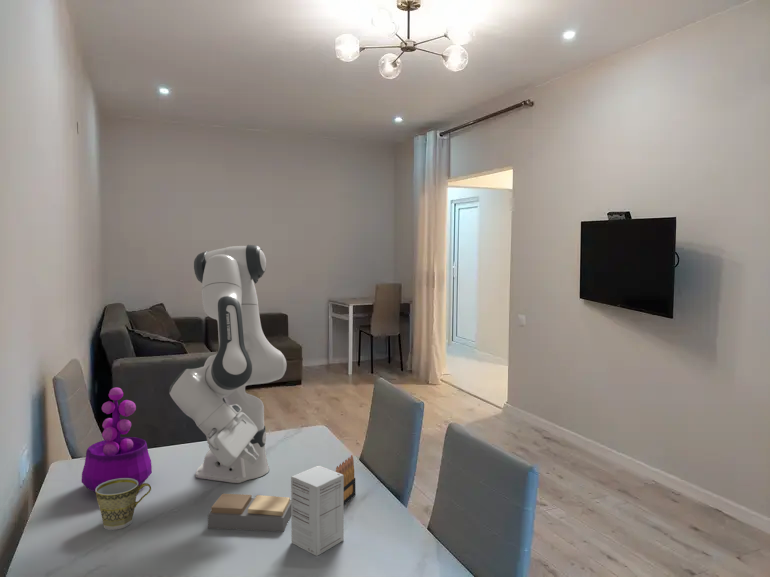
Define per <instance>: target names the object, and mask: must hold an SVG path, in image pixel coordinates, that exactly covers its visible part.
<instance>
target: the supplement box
mask: <svg viewBox="0 0 770 577" xmlns="http://www.w3.org/2000/svg"><path fill="white" fill-rule="evenodd" d="M290 488H291V489H290V492H291V493H290V500H291V517H290V520H291V522H290V523H291V526H290V528H291V534H290V535H291V544H293V545H295V546H296V547H299V548H300V549H302V550H304V551H306V552H308V553H310V554H312V555H313V556H315V557H318V556H319V555H321V554H323V553H324V552H326V551H328V550H329V549H331V548H333V547H334V546H337V545H338V544H340V543H341V542H343V541H344V538H345V537H344V534H345V533H344V523H345V522H344V521H345V520H344V518H345V517H344V514H345V513H344V509H345V508H344V506H345V505H344V475H343V474H340V473H337V472H336V470H335V471H334V470H331V469H330V468H327V467H323V466H322V465H316V466H313V467H311V468H309V469H306V470H303V471H301V472H300V473H297V474H294V475H292V476H291V477H290Z"/></svg>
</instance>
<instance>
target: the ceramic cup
mask: <svg viewBox="0 0 770 577" xmlns="http://www.w3.org/2000/svg"><path fill="white" fill-rule="evenodd" d="M138 484H139V483H138V481H137V480H135V479H131V478H119V479H113V480H109V481H106V482H104V483H102V484H100V485H98V486H97V487H96V489H95V496H96V501H97V504H98V507H99V511H100V515H101V520H102V523H103V524H102V525H103V528H104V529H106V530H110V531H115V530H120V529H125V528H126V527H128V526H130V525H131V524H132V523H133V517H134V513H135V508H137V506H138V504H140V503H141V502H142V500H143V499H144V498H145V497H146V496H147V495H148V494H150V493H151V491H152V487H151V484H149V483H148V482H147V483H146V482H144V483H142V484H140V485H138ZM145 487H148V488H149V489H148V491H147V492H146V493H145V494H144V495H142V496H141V497H140V499H139V500H137V496H138V494H139V492H140V490H141V489H142V488H145ZM136 500H137V501H136Z"/></svg>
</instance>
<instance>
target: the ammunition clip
mask: <svg viewBox="0 0 770 577" xmlns="http://www.w3.org/2000/svg"><path fill="white" fill-rule="evenodd" d="M354 461H355V460H354V456H353V454H351V455H350V456H348V458H347V459H345V460H344V461H342V463H339V464H338V465H337V466H336V468H335V472H337V473H340V474H343V475H344V506H345V505H347V503H349V501H351V500H352V499H353V498H354V497H355V496H356V495H357V494H356V477H355V464H354V463H355V462H354Z"/></svg>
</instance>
